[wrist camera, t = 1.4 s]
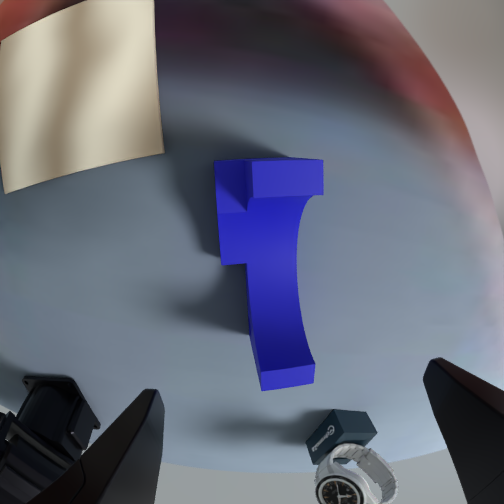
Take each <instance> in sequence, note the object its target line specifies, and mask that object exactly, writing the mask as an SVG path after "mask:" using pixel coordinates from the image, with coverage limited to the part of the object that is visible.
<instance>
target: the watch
mask: <svg viewBox="0 0 504 504" xmlns="http://www.w3.org/2000/svg"><path fill="white" fill-rule="evenodd" d="M376 434H377V431H376V429H375V427H374V425H373V424H372V422H371V420H370V418H369V416H368V415H367V413H366V412H359V411H347V410H336V409H334V410H333V411H332V412H331V413H330V414H329V416H328V417H327V418H326V419H325V421H324V422H323V423H322V424H321V425H320V426H319V428H318V429H317V430H316V431H315V432H314V433H313V435H312V436H311V437H310V438H309V439H308V440H307V441H306V445H307V448H308V451H309V454H310V457H311V460H312V463H313V465H319V466H318V468H317V471H316V477H315V478H316V479H315V485H316V489H315V493H316V498H317V501H318V503H319V504H377V503H378V502H379V501H378V499H377V498H376V497H375V496H374V495H373V494H372V493H371V491H370V488H369V485H368V483H367V482H366V480H365V479H364V478H363V477H362V476H360V475H359V474H357V473H355V472H353V471H350V470H347V469H345V468H344V467H343V466H341V465H340V464H347V463H348V462H349V461H350V460H352V459H353V460H354V461H355V462H358V463H357V466H358V467H360V468H361V469H362V470H363V471H364V472H365V473H367V474H368V476H369V477H370V478H371V479H372V480H373V481H374V482H375V483H378V484H379V486H380V487H381V490H382V500H381V503H380V504H390V503H391V502H392V501H393V500H394V499H395V498H396V496H397V493H398V482H397V479H396V476H395V474H394V473H393V469H392V468H391V467H390V465H389V464H388V463H387V462H386V461H385V460H384V459H383V458H382V457H381V456H380V455H379V454H378V453H376V452H375V451H373V450H372V449H371V448H370V449H367V448H365V446H366V445H367V444H368V442H369V441H370V440H371V439H372V438H373V437H374V436H375V435H376Z"/></svg>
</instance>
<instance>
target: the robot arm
mask: <svg viewBox="0 0 504 504" xmlns="http://www.w3.org/2000/svg"><path fill="white" fill-rule="evenodd" d="M22 381H23V383H24V385H25V387H26V388H27V390H28V392H29V394H28V396H27V397H26V399H25V401H24V403H23V404H22V406H21V408H20V410H19V412H18V414H17V416H16V417H15V415H14V414H13V413H12V412H11V411H9V412H8V413H7V414H6V415H5V414H4V413H1V412H0V504H154V501H155V495H156V488H157V482H158V476H159V470H160V464H161V458H162V450H163V431H164V414H165V409H164V404H163V402H162V399H161V396H160V393H159V391H158V390H157V389H145V390H143V391H142V392H141V393H140V394H139V395H138V397H137V398H136V399H135V400H134V401H133V402H132V403H131V404H130V405H129V406H128V407H127V408H126V409H125V410H124V411H123V412H122V413H121V415H120V416H119V417H118V418H117V419H116V420H115V421H114V422H113V423H112V424H111V425H110V426H109V427H108V428H107V429H106V430H105V431H104V432H103V433H102V435H101V436H100V437H99V438H98V439H97V440H96V441H95V442H94V443H93V444H92V445H91V446H90V447H89V448H88V449H87V447H88V443H89V440H90V437H91V433H92V430H93V429H100V425H101V424H100V422H99V421H98V419H97V418H96V416H95V415H94V413H93V411H92V410H91V408H90V406H89V405H88V403H87V401H86V400H85V398H84V396H83V394H82V393H81V391H80V389H79V387H78V385H77V384H76V382H75V381H74V380H72V379H69V378H46V377H30V376H24V378H23V379H22ZM423 382H424V386H425V389H426V392H427V395H428V398H429V401H430V404H431V407H432V410H433V413H434V416H435V419H436V421H437V423H438V426H439V428H440V431H441V433H442V435H443V438H444V440H445V443H446V445H447V448H448V450H449V453H450V455H451V458H452V460H453V463H454V466H455V468H456V471H457V474H458V477H459V480H460V483H461V485H462V488H463V491H464V494H465V497H466V500H467V504H504V391H503V390H501V389H499V388H497V387H495V386H494V385H492V384H490V383H488V382H486V381H484V380H482V379H480V378H479V377H477V376H475V375H473V374H471V373H469V372H467V371H465V370H464V369H462V368H460V367H458V366H456V365H454V364H452V363H451V362H449V361H447V360H445V359H443V358H441V357H439V358H435V359H432V360H430V361H429V363H428V366H427V368H426V371H425V373H424V376H423ZM5 439H6V440H5ZM7 440H8V441H7ZM86 449H87V450H86ZM83 450H86V451H85V452H84V453H83V455H81V454H82V451H83Z"/></svg>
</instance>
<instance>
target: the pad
mask: <svg viewBox="0 0 504 504" xmlns="http://www.w3.org/2000/svg"><path fill="white" fill-rule="evenodd" d="M162 153H165V150H164V141H163V132H162V123H161V113H160V103H159V91H158V78H157V64H156V46H155V21H154V0H87V1H84V2H82V3H79V4H76V5H74V6H71V7H69V8H66V9H64V10H61V11H59V12H57V13H54V14H52V15H50V16H48V17H45V18H43V19H41V20H39V21H37V22H35V23H33V24H31V25H29V26H27V27H25V28H23V29H21V30H20V31H18V32H16V33H14V34H12V35H11V36H9V37H7V38H5V39H4V40H2V41H1V48H0V164H1V172H2V179H3V186H4V192H5V194H7V193H10V192H13V191H16V190H19V189H22V188H25V187H28V186H31V185H34V184H37V183H41V182H44V181H47V180H51V179H54V178H57V177H61V176H64V175H68V174H72V173H76V172H79V171H83V170H87V169H91V168H95V167H99V166H104V165H108V164H112V163H117V162H121V161H126V160H131V159H136V158H141V157H146V156H151V155H157V154H162Z"/></svg>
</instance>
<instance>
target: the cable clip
mask: <svg viewBox="0 0 504 504" xmlns="http://www.w3.org/2000/svg"><path fill="white" fill-rule="evenodd" d="M214 171H215V187H216V201H217V215H218V229H219V242H220V254H221V265H232V264H243V263H245V271H246V288H247V305H248V322H249V336H250V341H251V345H252V350H253V355H254V359H255V364H256V368H257V373H258V377H259V382H260V386H261V391H267V390H275V389H281V388H288V387H294V386H300V385H306V384H312V383H313V382H314V373H315V362H314V360H313V357H312V355H311V352H310V349H309V346H308V343H307V339H306V335H305V331H304V327H303V322H302V317H301V311H300V304H299V296H298V286H297V265H296V254H297V237H298V229H299V223H300V219H301V215H302V212H303V209H304V207H305V204H306V203H307V201H308V200H309V199H310V197H312V196H313V195H323V160H318V159H306V158H292V157H282V158H253V159H234V160H219V161H214Z"/></svg>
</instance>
